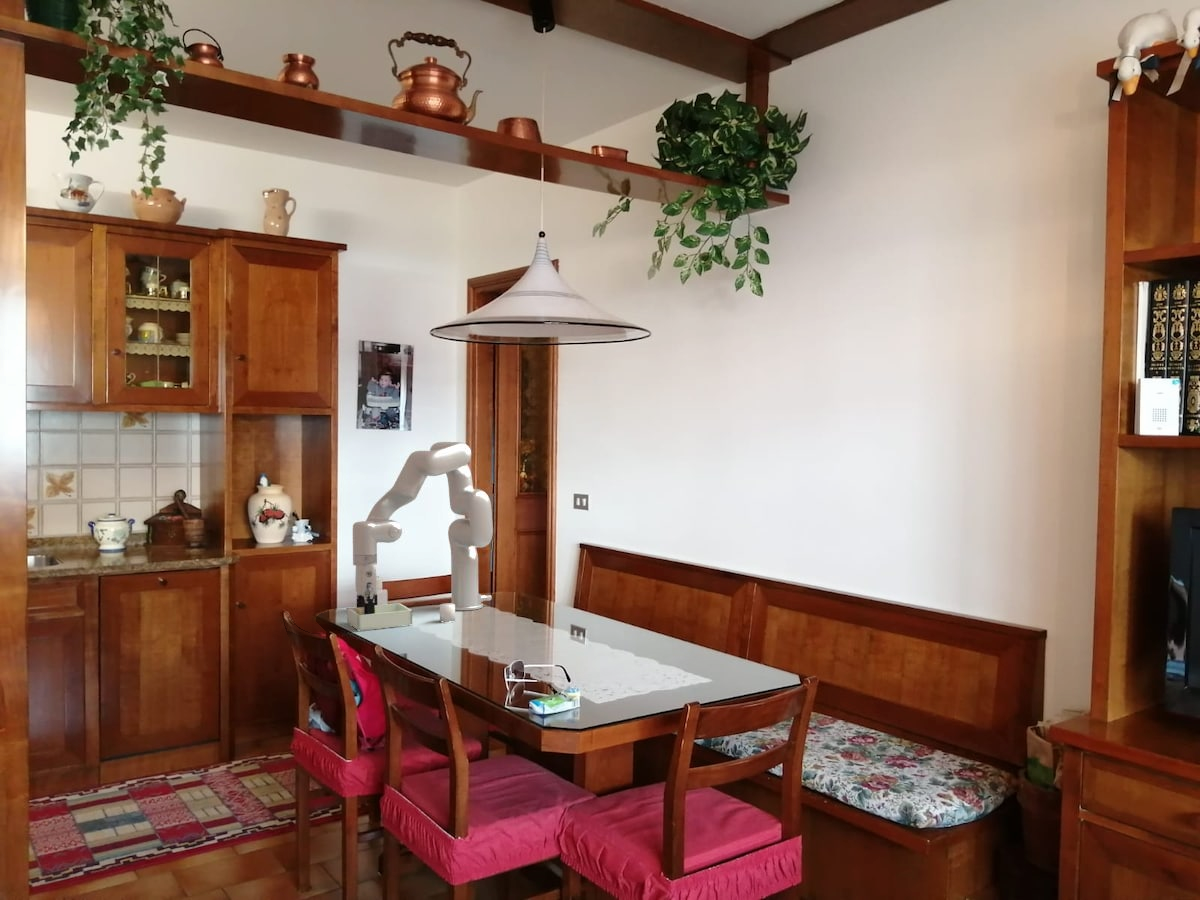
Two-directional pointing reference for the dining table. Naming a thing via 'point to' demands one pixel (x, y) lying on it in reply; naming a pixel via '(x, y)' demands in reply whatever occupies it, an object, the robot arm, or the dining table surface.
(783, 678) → the dining table surface
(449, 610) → the white short cylinder
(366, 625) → the tote
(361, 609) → the beech cube
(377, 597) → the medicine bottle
